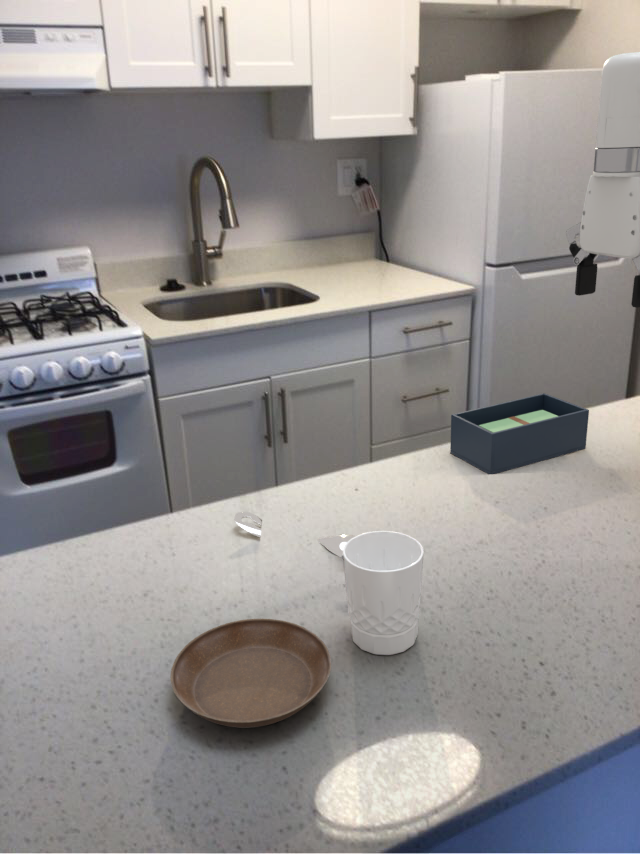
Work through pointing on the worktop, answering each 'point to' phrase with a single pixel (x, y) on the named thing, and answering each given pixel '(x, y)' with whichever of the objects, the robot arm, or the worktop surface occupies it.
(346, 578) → the white cup
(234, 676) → the saucer
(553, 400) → the bin
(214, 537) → the worktop surface
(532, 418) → the light green rectangular block
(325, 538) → the ceramic shards
